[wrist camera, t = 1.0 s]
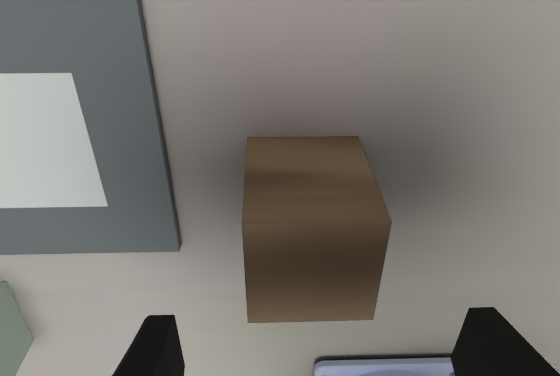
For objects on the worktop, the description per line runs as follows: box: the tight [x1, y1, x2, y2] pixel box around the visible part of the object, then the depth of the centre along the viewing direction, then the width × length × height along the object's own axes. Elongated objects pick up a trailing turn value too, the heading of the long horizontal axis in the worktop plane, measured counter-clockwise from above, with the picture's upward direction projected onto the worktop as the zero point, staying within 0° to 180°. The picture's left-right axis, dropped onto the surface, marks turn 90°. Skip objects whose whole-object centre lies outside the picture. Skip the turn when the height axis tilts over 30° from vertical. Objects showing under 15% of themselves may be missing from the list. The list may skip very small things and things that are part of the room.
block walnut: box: [242, 136, 392, 323], centre depth 15 cm, size 4×4×5 cm
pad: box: [0, 0, 181, 255], centre depth 15 cm, size 10×10×1 cm
